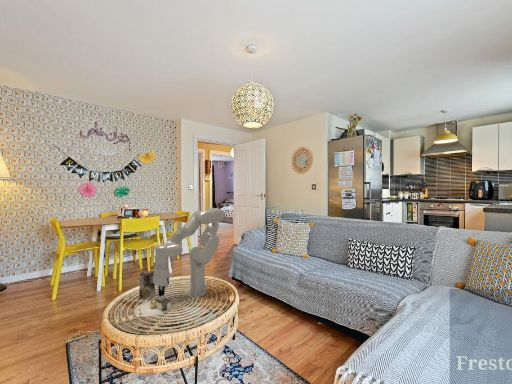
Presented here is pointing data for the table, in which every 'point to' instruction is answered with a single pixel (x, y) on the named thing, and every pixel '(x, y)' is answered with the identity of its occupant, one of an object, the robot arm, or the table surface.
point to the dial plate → (151, 309)
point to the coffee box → (146, 285)
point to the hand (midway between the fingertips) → (161, 295)
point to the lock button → (161, 298)
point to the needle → (158, 304)
